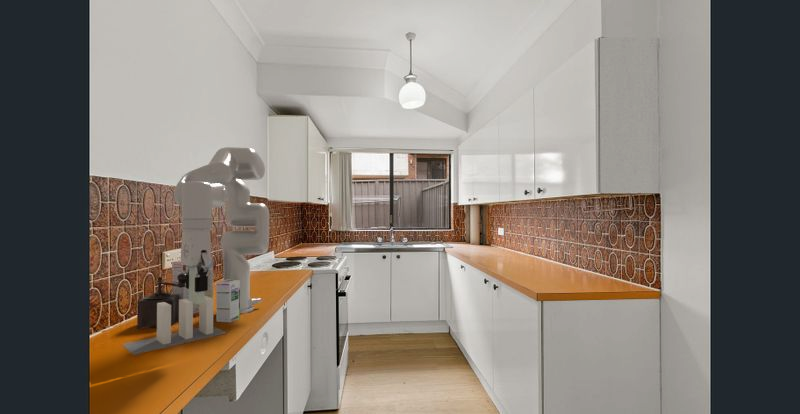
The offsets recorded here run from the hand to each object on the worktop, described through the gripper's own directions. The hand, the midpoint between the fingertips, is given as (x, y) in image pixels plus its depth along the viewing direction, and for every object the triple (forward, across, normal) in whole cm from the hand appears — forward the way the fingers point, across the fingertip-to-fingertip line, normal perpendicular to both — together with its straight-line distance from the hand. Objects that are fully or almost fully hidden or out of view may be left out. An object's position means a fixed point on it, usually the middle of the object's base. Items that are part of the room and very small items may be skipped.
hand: (196, 288), depth 108 cm
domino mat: (+17, -14, -1) cm, 22 cm away
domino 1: (+17, -14, -4) cm, 22 cm away
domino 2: (+17, -14, +2) cm, 22 cm away
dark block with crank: (+18, -35, +3) cm, 39 cm away
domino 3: (+4, 0, 0) cm, 4 cm away
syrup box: (+18, -23, +19) cm, 34 cm away
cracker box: (+18, -42, +14) cm, 47 cm away
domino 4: (+17, -14, +8) cm, 23 cm away
